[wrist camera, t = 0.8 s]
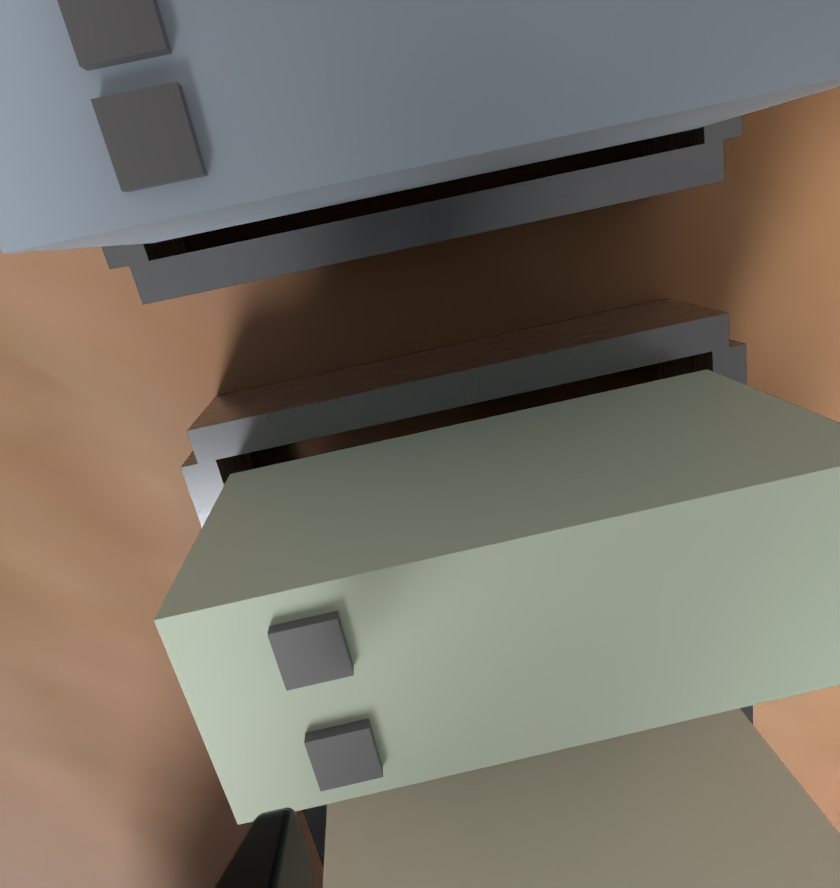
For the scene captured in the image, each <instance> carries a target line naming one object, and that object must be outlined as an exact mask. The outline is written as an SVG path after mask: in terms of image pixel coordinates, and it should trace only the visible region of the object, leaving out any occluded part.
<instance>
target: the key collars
mask: <svg viewBox="0 0 840 888" xmlns="http://www.w3.org/2000/svg"><path fill="white" fill-rule="evenodd" d="M739 136H742V115H741V116H738V117H735V118H731V119H728V120H724V121H721V122H718V123H714V124H711V125H708V126H704V127H701V128H697V129H693V130H688V131H683V132H678V133H674V134H669V135H664V136H659V137H655V138H650V139H645V140H641V150H642V157H639V158H634V159H629V160H625V161H620V162H615V163H611V164H606V165H601V166H596V167H592V168H587V169H582V170H577V171H573V172H568V173H563V174H558V175H554V176H549V177H544V178H539V179H535V180H530V181H525V182H521V183H516V184H511V185H506V186H502V187H497V188H492V189H487V190H483V191H478V192H473V193H468V194H464V195H459V196H454V197H449V198H445V199H440V200H435V201H431V202H426V203H421V204H416V205H412V206H407V207H402V208H397V209H393V210H388V211H383V212H378V213H374V214H369V215H364V216H359V217H355V218H350V219H345V220H341V221H336V222H331V223H326V224H322V225H317V226H312V227H307V228H303V229H298V230H293V231H288V232H284V233H279V234H274V235H269V236H265V237H260V238H255V239H250V240H246V241H241V242H236V243H232V244H227V245H222V246H217V247H213V248H208V249H203V250H198V251H194V252H189V253H186V249H185V246H184V243H183V240H182V237H179V238H175V239H170V240H165V241H160V242H156V243H145V244H131V245H117V246H103V247H102V249H103V252H104V255H105V258H106V260H107V263H108V266H109V269H114V268H120V267H126V266H130V269H131V272H132V274H133V277H134V280H135V283H136V286H137V289H138V292H139V295H140V298H141V300H142V303H143V305H144V304H148V303H153V302H158V301H163V300H167V299H172V298H177V297H181V296H186V295H191V294H195V293H200V292H205V291H210V290H214V289H219V288H224V287H228V286H233V285H238V284H242V283H247V282H252V281H257V280H261V279H266V278H271V277H275V276H280V275H285V274H289V273H294V272H299V271H304V270H308V269H313V268H318V267H322V266H327V265H332V264H337V263H341V262H346V261H351V260H355V259H360V258H365V257H369V256H374V255H379V254H384V253H388V252H393V251H398V250H402V249H407V248H412V247H416V246H421V245H426V244H431V243H435V242H440V241H445V240H449V239H454V238H459V237H463V236H468V235H473V234H478V233H482V232H487V231H492V230H496V229H501V228H506V227H510V226H515V225H520V224H525V223H529V222H534V221H539V220H543V219H548V218H553V217H558V216H562V215H567V214H572V213H576V212H581V211H586V210H590V209H595V208H600V207H605V206H609V205H614V204H619V203H623V202H628V201H633V200H637V199H642V198H647V197H652V196H656V195H661V194H666V193H670V192H675V191H680V190H684V189H689V188H694V187H699V186H703V185H708V184H713V183H717V182H722V181H725V178H724V142H723V140H726V139H731V138H735V137H739ZM652 364H656V367H657V380H661V379H665V378H670V377H674V376H679V375H684V374H688V373H693V372H697V371H702V370H706V369H708V370H710V371H713V372H715V373H717V374H720V375H722V376H725V377H727V378H730V379H732V380H735V381H737V382H740V383H742V384H745V385H747V373H746V344H745V343H741V342H738V341H735V340H731V339H729V323H728V313H726V312H722V311H717V310H713V309H708V308H704V307H700V306H695V305H691V304H687V303H682V302H678V301H673V300H669V299H663V300H659V301H654V302H649V303H645V304H640V305H636V306H631V307H626V308H622V309H617V310H613V311H608V312H603V313H599V314H594V315H589V316H585V317H580V318H576V319H571V320H566V321H562V322H557V323H553V324H548V325H543V326H539V327H534V328H529V329H525V330H520V331H516V332H511V333H506V334H502V335H497V336H492V337H488V338H483V339H479V340H474V341H469V342H465V343H460V344H456V345H451V346H446V347H442V348H437V349H432V350H428V351H423V352H419V353H414V354H409V355H405V356H400V357H396V358H391V359H386V360H382V361H377V362H372V363H368V364H363V365H359V366H354V367H349V368H345V369H340V370H336V371H331V372H326V373H322V374H317V375H312V376H308V377H303V378H299V379H294V380H289V381H285V382H280V383H276V384H271V385H266V386H262V387H257V388H252V389H248V390H243V391H239V392H234V393H229V394H225V395H220V396H216V397H215V398H214V399H213V400H212V402H211V403H210V404H209V405H208V406H207V408H206V409H205V410H204V411H203V412H202V413H201V415H200V416H199V417H198V418H197V419H196V420H195V422H194V423H193V424H192V425H191V426H190V428H189V429H188V430H187V433H188V436H189V439H190V442H191V445H192V448H193V452H192V453H191V454H190V456H189V457H188V458H187V460H186V461H185V462H184V464H183V465H182V466H181V470H182V473H183V476H184V478H185V481H186V484H187V487H188V490H189V492H190V495H191V498H192V501H193V504H194V506H195V509H196V512H197V515H198V518H199V520H200V523H201V526H202V527H203V525H204V523H205V521H206V519H207V517H208V515H209V514H210V512H211V510H212V508H213V506H214V504H215V502H216V500H217V498H218V496H219V494H220V492H221V490H222V489H223V487H224V485H225V483H226V481H227V479H228V477H229V475H230V474H233V473H237V472H242V471H246V470H251V469H254V466H253V463H252V460H251V456H250V452H254V451H259V450H264V449H268V448H273V447H277V446H282V445H286V444H291V443H295V442H300V441H305V440H309V439H314V438H318V437H323V436H327V435H332V434H337V433H341V432H346V431H350V430H355V429H359V428H364V427H369V426H373V425H378V424H382V423H387V422H391V421H396V420H401V419H405V418H410V417H414V416H419V415H423V414H428V413H433V412H437V411H442V410H446V409H451V408H455V407H460V406H464V405H469V404H474V403H478V402H483V401H487V400H492V399H496V398H501V397H506V396H510V395H515V394H519V393H524V392H528V391H533V390H538V389H542V388H547V387H551V386H556V385H560V384H565V383H570V382H574V381H579V380H583V379H588V378H592V377H597V376H601V375H606V374H611V373H615V372H620V371H624V370H629V369H633V368H638V367H643V366H647V365H652ZM740 709H741V711H742V712H743V713H744V714H745V716H746V717H747V718H748V719H749V721H750V722H751V723H752V724H753V705H751V706H747V707H743V708H740ZM303 811H304V814H305V817H306V820H307V822H308V825H309V828H310V831H311V833H312V836H313V839H314V842H315V845H316V847H317V850H318V853H319V856H320V859H321V861H322V864H323V867H324V853H325V834H326V816H327V804H326V805H321V806H317V807H313V808H308V809H304V810H303Z"/></svg>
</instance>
